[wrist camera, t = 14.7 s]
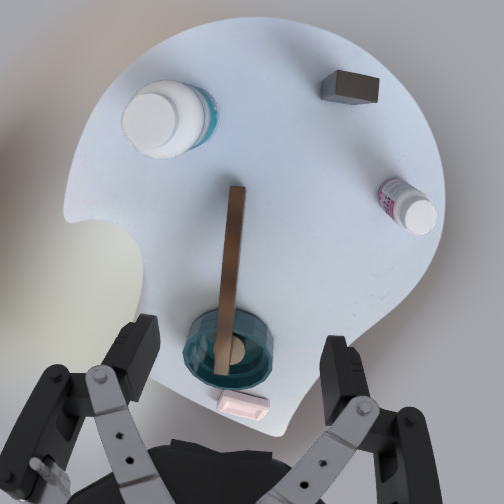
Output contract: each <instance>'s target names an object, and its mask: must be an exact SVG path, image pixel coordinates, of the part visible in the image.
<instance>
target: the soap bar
mask: <svg viewBox="0 0 504 504" xmlns="http://www.w3.org/2000/svg"><path fill="white" fill-rule="evenodd" d="M269 407H270V402H269V400H265V399H261V398H257V397H253V396H249V395H246V394H242V393H238V392H235V391H231V390H224V391H223V393H222V394H221V396H220V398H219V400H218V403H217V408H216V409H217V410H218V411H221V412H225V413H228V414H232V415H236V416H240V417H244V418H248V419H252V420H257V421H260V420H261V419H262V418H263V417H264V416H265V414H266V413H267V412H268V410H269Z"/></svg>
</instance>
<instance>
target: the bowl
mask: <svg viewBox="0 0 504 504" xmlns="http://www.w3.org/2000/svg"><path fill="white" fill-rule="evenodd" d="M217 321H218V310H216V311H212V312H209V313H205V314H203V315H202V316H201V317H200V318H199V319H197V320H196V321H195V322H194V323H193V325H192V328H191V330H190V333H189V335H188V338H187V341H186V344H185V347H184V349H183V358H184V362H185V365H186V367H187V368H188V369H189V371H190V372H191V373H192V375H193V376H195V377H196V378H197V379H199V380H200V381H202V382H203V383H205V384H207V385H210V386H213V387H216V388H219V389H224V390H243V389H248V388H253V387H255V386H256V385H258V384H260V383H262V382H264V381H265V380H266V378H267V377H268V376H269V374H270V373H271V371H272V364H273V337H272V335H271V333H270V331H269V329H268V327H267V326H266V325H265V324H263V323H262V322H261V321H260V320H259V319H257V318H256V317H254V316H252V315H250V314H247V313H244V312H241V311H239V310H235V317H234V328H233V332H234V333H237V334H239V335H240V336H241V337H242V338H243V339H244V341H245V344H246V351H245V355H244V358H243V359H242V360H241V361H240V362H239V363H237V364H234V365H230V372H229V375H228V376H225V375H218V374H214V362H215V356H214V353H213V346H214V343H215V341H216V334H217Z"/></svg>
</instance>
